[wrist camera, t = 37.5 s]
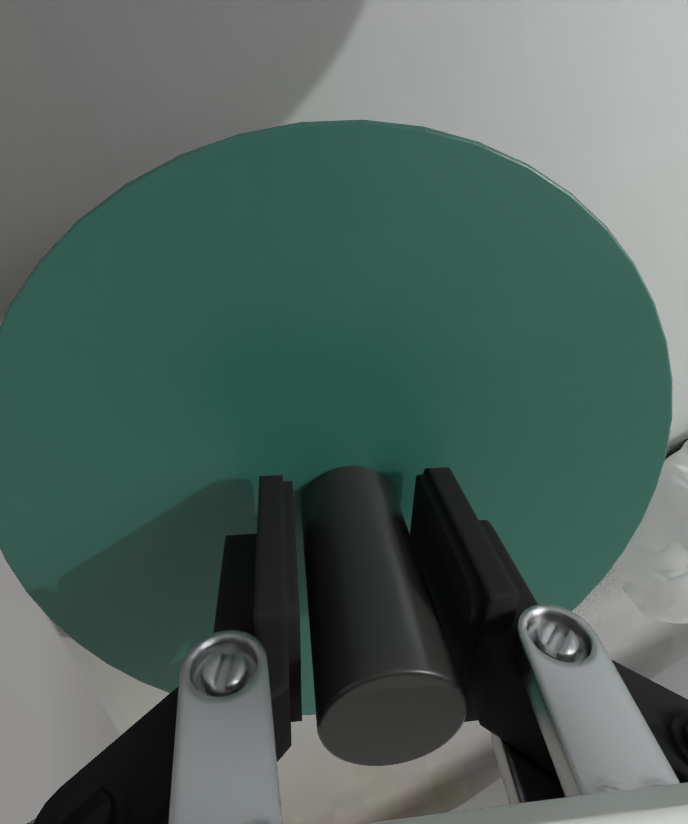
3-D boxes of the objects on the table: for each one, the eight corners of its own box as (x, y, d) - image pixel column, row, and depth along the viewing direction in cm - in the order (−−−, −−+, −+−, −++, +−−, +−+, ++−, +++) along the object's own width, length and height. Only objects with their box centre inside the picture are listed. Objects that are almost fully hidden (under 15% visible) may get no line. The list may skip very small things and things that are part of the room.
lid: (-117, 105, 9) (-847, 30, 3) (739, 136, 11) (1271, 125, 5) (80, 704, 17) (-25, 1008, 11) (565, 658, 19) (700, 894, 13)
